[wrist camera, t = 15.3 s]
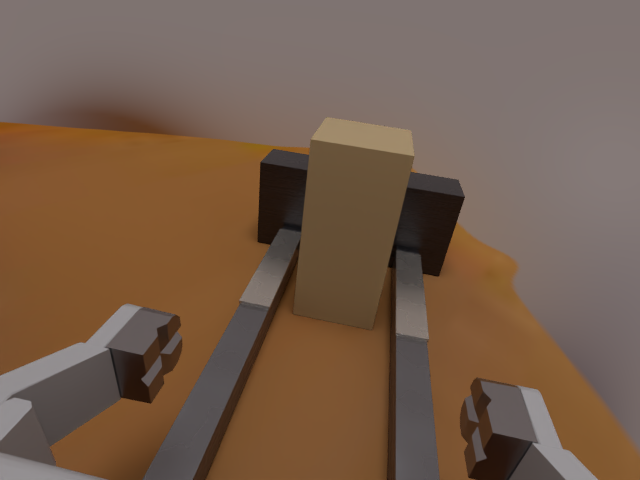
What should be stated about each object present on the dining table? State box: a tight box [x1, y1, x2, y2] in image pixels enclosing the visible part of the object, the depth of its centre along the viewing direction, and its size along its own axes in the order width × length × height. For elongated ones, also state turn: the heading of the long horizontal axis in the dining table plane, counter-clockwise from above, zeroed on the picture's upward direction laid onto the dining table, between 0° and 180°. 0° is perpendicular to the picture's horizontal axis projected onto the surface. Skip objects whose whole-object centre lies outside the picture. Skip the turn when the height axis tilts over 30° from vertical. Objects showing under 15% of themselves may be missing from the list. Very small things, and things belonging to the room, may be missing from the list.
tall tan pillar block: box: [293, 117, 414, 330], centre depth 21 cm, size 4×4×10 cm
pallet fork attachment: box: [142, 149, 465, 480], centre depth 18 cm, size 13×24×6 cm, turn 170°
